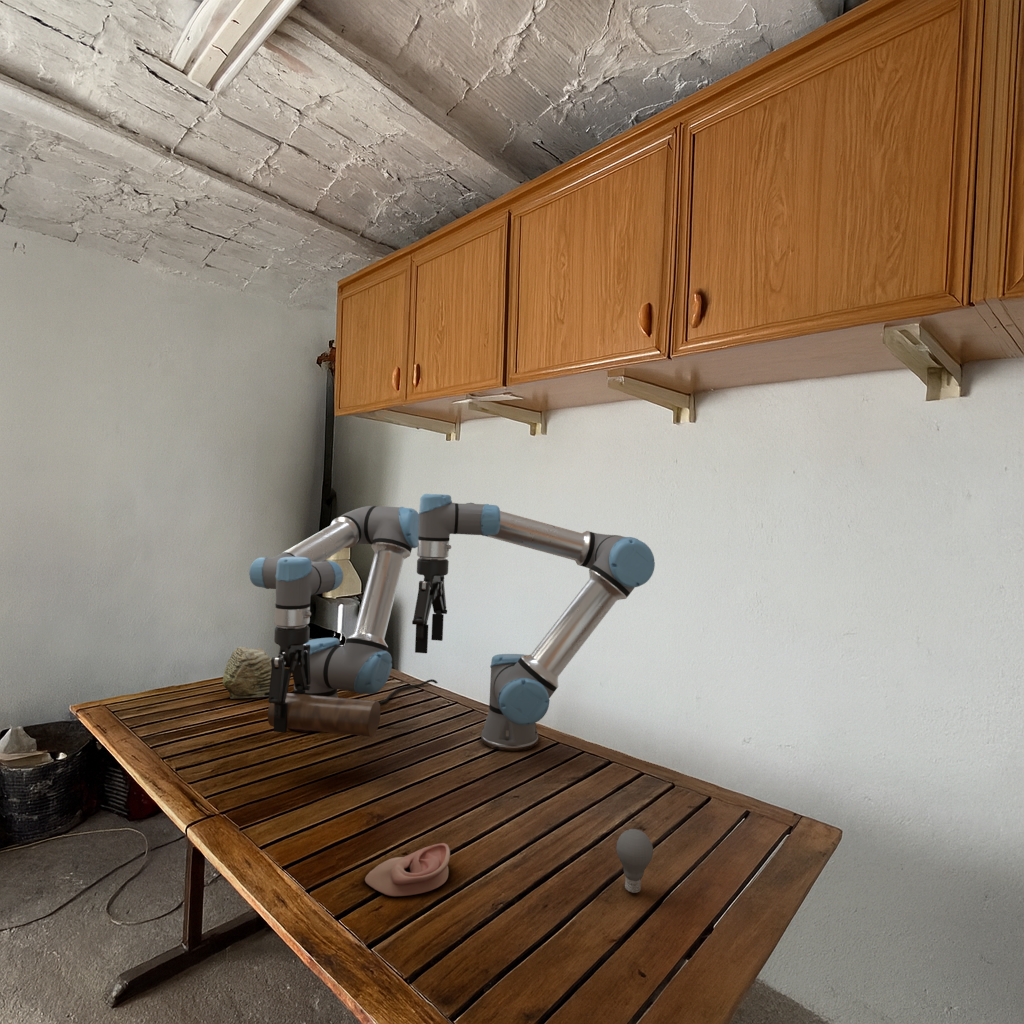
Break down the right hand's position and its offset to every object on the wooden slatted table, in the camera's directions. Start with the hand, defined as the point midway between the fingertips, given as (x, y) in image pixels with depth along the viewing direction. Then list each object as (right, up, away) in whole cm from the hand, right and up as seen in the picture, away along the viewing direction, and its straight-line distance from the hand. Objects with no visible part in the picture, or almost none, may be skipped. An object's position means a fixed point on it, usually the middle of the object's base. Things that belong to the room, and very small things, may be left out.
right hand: (429, 646), depth 152 cm
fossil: (-61, -25, +46) cm, 80 cm away
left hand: (-31, -16, -8) cm, 36 cm away
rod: (-23, -17, -9) cm, 30 cm away
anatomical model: (+2, -29, -46) cm, 54 cm away
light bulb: (+40, -31, -47) cm, 69 cm away
